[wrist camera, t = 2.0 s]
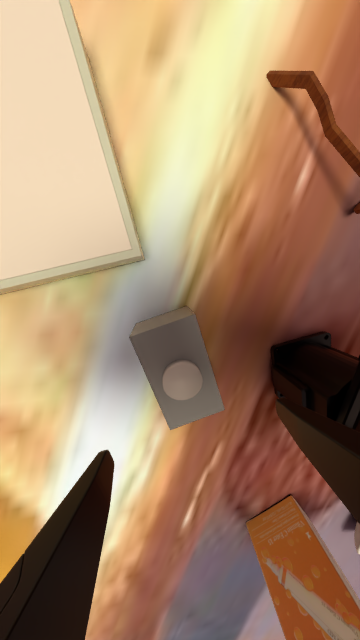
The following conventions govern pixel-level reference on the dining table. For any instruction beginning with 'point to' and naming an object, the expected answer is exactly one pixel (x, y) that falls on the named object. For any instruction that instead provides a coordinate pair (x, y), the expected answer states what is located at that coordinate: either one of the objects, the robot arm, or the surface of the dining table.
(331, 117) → the glasses
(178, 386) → the block
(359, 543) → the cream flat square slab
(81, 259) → the stand
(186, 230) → the dining table surface
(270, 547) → the small box
